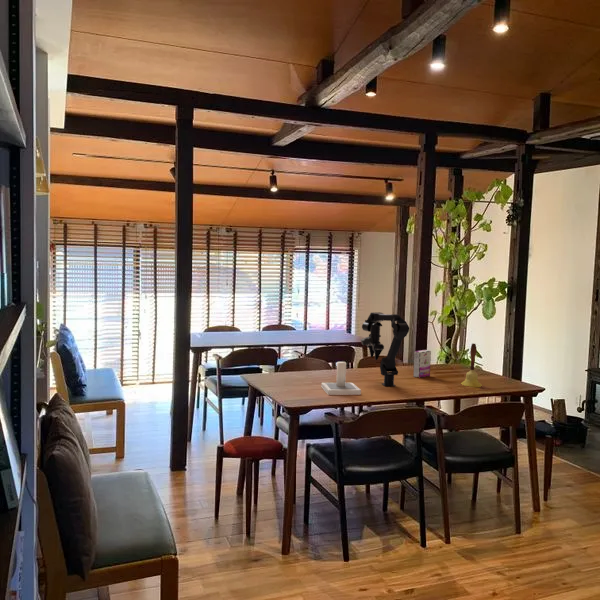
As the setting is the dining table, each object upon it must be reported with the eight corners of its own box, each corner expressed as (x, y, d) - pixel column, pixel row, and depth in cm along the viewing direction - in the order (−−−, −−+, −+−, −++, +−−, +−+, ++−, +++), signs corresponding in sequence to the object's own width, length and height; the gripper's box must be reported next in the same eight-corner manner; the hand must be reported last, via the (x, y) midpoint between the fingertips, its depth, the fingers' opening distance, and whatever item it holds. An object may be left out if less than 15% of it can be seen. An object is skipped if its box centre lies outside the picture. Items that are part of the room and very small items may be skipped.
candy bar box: (423, 374, 362) (425, 349, 361) (430, 376, 358) (431, 350, 357) (412, 376, 355) (414, 350, 354) (419, 378, 351) (420, 352, 350)
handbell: (479, 388, 328) (481, 345, 326) (458, 385, 334) (460, 343, 333) (484, 384, 338) (486, 343, 337) (463, 381, 345) (466, 341, 343)
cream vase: (347, 386, 308) (348, 362, 307) (340, 387, 305) (341, 363, 304) (340, 384, 312) (341, 361, 311) (334, 385, 309) (335, 362, 308)
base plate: (360, 394, 301) (360, 389, 301) (327, 394, 298) (328, 389, 298) (352, 386, 319) (352, 382, 319) (321, 387, 316) (321, 382, 316)
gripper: (358, 330, 347) (356, 355, 348) (366, 335, 328) (365, 361, 329) (375, 331, 348) (374, 355, 349) (384, 335, 330) (383, 361, 331)
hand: (373, 358), depth 340 cm, fingers open, 9 cm apart
